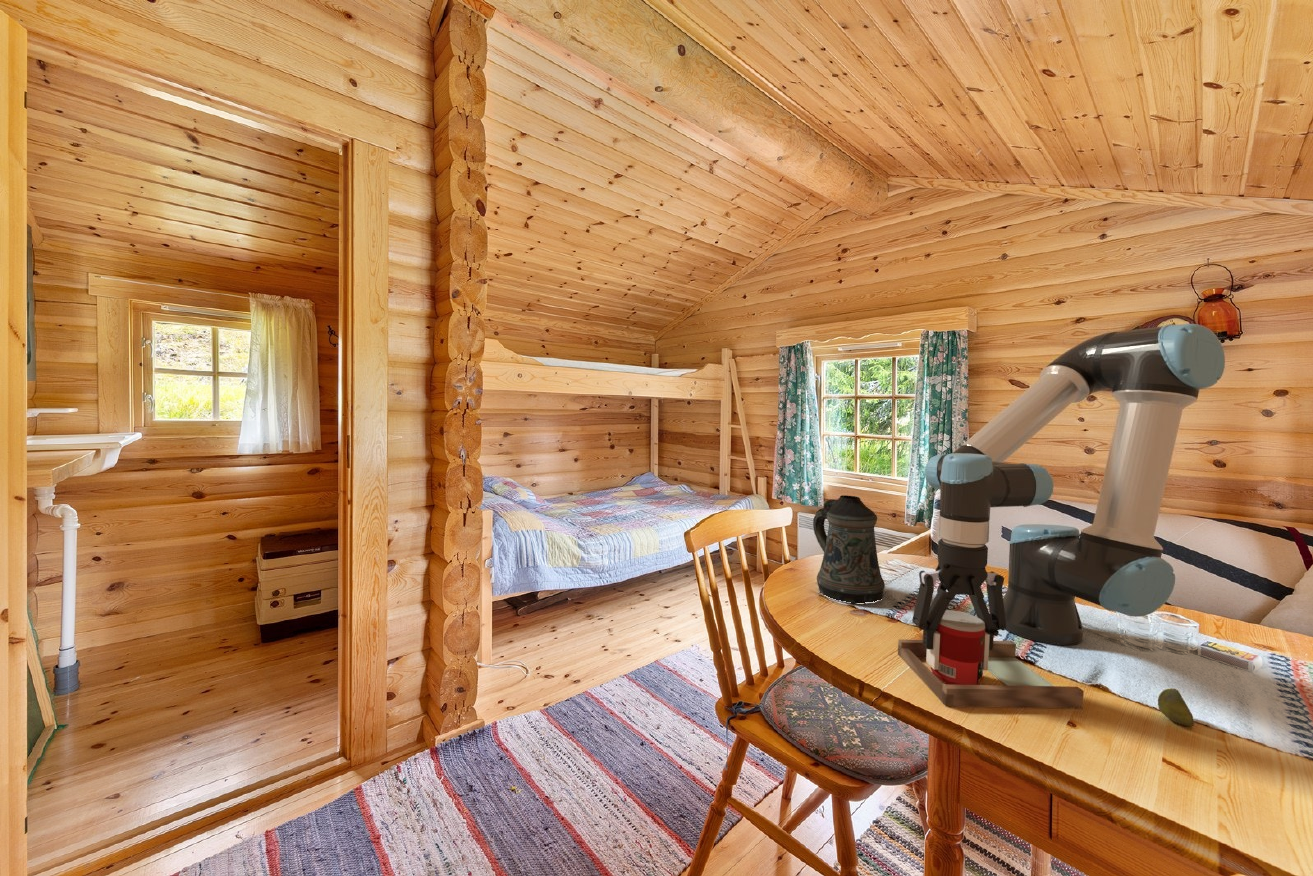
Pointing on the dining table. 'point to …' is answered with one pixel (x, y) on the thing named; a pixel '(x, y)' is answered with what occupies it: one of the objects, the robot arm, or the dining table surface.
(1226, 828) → the dining table surface
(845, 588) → the beer stein
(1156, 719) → the dining table surface
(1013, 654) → the bay
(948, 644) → the canned food
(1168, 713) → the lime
